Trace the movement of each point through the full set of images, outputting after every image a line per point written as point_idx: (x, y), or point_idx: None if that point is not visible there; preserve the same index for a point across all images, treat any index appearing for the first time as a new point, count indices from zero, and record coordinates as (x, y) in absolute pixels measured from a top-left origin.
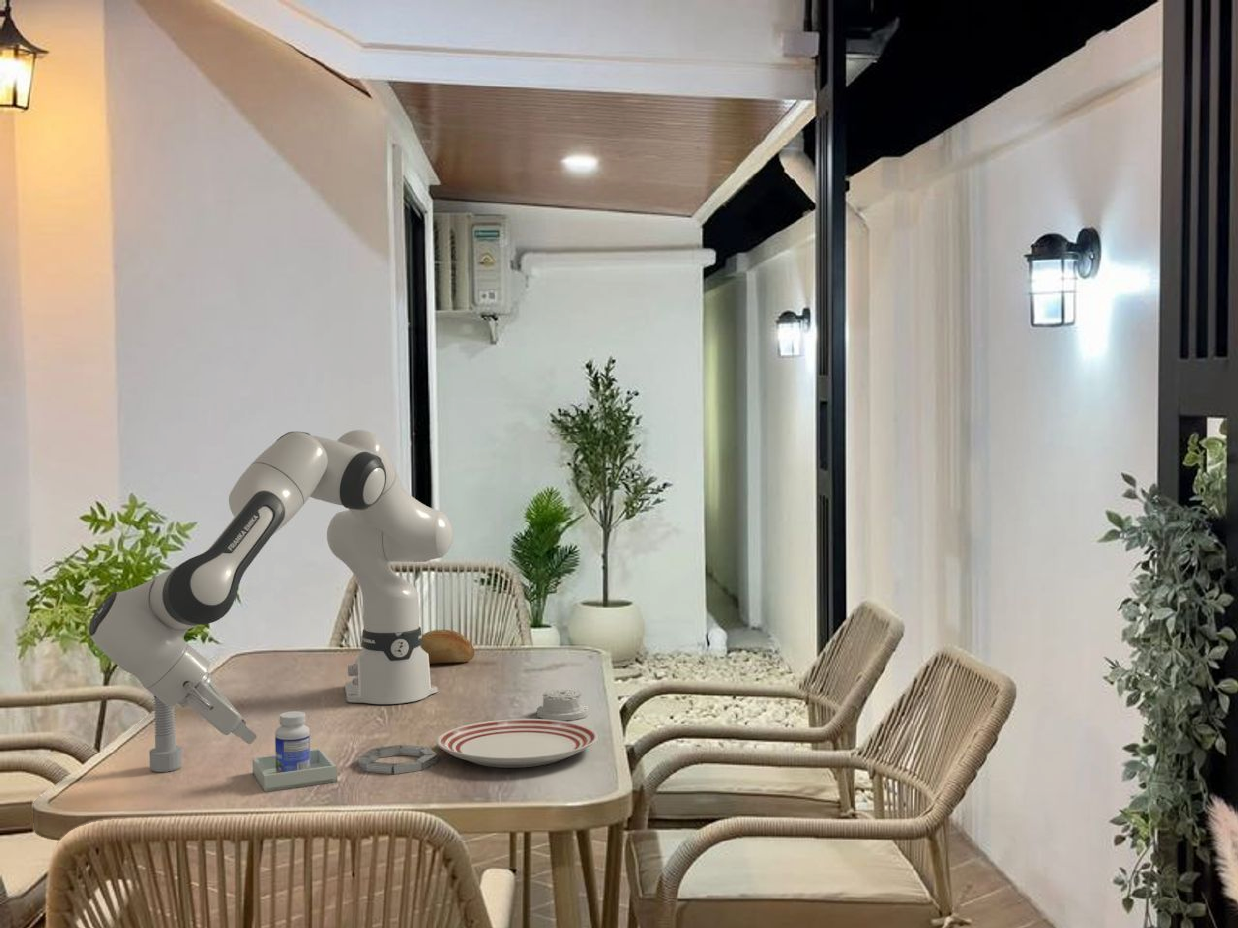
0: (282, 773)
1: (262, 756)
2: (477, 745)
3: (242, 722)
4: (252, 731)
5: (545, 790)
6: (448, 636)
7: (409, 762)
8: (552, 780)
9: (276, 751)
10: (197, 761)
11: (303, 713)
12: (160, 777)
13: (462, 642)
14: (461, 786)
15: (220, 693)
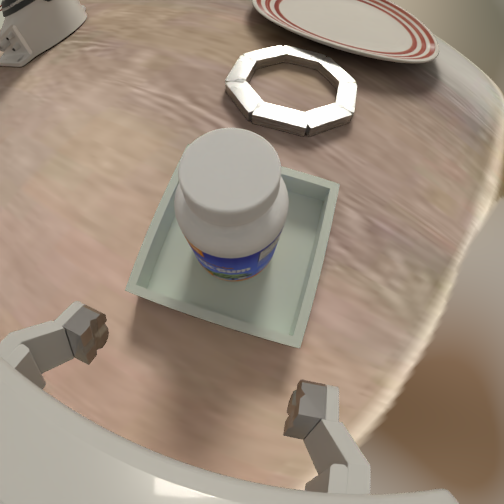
0: (312, 303)
1: (134, 267)
2: (307, 22)
3: (369, 468)
4: (334, 405)
5: (475, 91)
6: None
7: (344, 89)
8: (450, 68)
9: (224, 269)
10: (13, 327)
11: (247, 134)
12: None
13: None
14: (442, 114)
15: (16, 449)
